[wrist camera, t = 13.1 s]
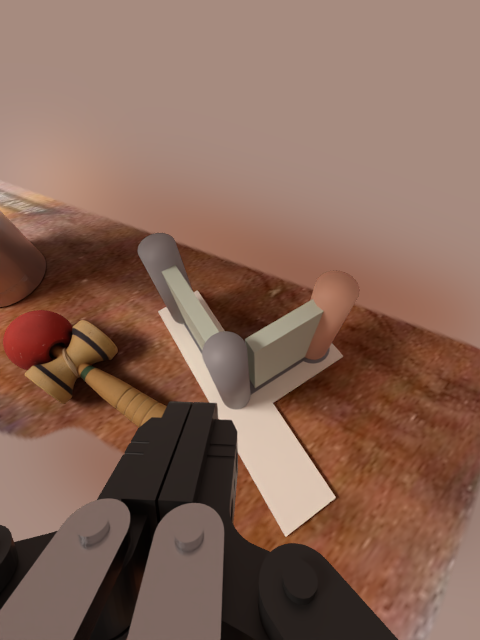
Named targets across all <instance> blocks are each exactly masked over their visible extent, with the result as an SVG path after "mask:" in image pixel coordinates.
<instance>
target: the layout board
mask: <svg viewBox="0 0 480 640" xmlns="http://www.w3.org/2000/svg"><path fill="white" fill-rule="evenodd" d="M193 293H194V294H195V296H196V297H197V299H198V300H199V302H200V303H201V305H202V306H203V308H204V309H205V311H206V312H207V314H208V315H209V317H210V318H211V320H212V322H213V323H214V325H215V326H216V328H217V329H218V331H219V332H223V331H224V329H223V328H222V326H221V325H220V323H219V322H218V320H217V319H216V317H215V316H214V314H213V313H212V311H211V310H210V308H209V307H208V305H207V304H206V302H205V301H204V299H203V298H202V296H201V295H200V293H199V292H198V290H197V291H195V292H193ZM158 312H159V314H160V316H161V317H162V319H163V321H164V323H165V325H166V326H167V328H168V330H169V332H170V333H171V335H172V337H173V339H174V340H175V342H176V344H177V346H178V348H179V349H180V351H181V353H182V355H183V356H184V358H185V360H186V362H187V363H188V365H189V367H190V369H191V370H192V372H193V374H194V376H195V378H196V379H197V381H198V383H199V385H200V386H201V388H202V390H203V392H204V393H205V395H206V397H207V399H208V401H209V402H210V403H217V406H218V418H219V419H220V420H232V421H233V423H234V425H235V428H236V430H237V448H238V454H239V455H240V457H241V459H242V461H243V462H244V464H245V466H246V468H247V469H248V471H249V473H250V475H251V476H252V478H253V480H254V482H255V484H256V485H257V487H258V489H259V491H260V492H261V494H262V496H263V498H264V499H265V501H266V503H267V505H268V507H269V508H270V510H271V512H272V514H273V515H274V517H275V519H276V521H277V522H278V524H279V526H280V528H281V529H282V531H283V533H284V535H285V537H286V536H288V535H289V534H290V533H291V532H293V531H294V530H295V529H296V528H298V527H299V526H300V525H302V524H303V523H304V522H305V521H307V520H308V519H309V518H311V517H312V516H313V515H314V514H316V513H317V512H318V511H320V510H321V509H322V508H323V507H325V506H326V505H327V504H329V503H330V502H331V501H332V500H334V499H335V498H336V497H335V495H334V494H333V492H332V491H331V489H330V488H329V486H328V485H327V483H326V482H325V480H324V479H323V477H322V476H321V474H320V473H319V471H318V470H317V468H316V467H315V465H314V464H313V462H312V461H311V459H310V458H309V456H308V455H307V453H306V452H305V450H304V449H303V447H302V446H301V444H300V443H299V441H298V440H297V438H296V437H295V435H294V434H293V432H292V431H291V429H290V428H289V426H288V425H287V423H286V422H285V420H284V419H283V417H282V416H281V414H280V413H279V411H278V410H277V408H276V407H275V405H274V404H273V403H274V402H275V401H277V400H279V399H280V398H282V397H283V396H285V395H286V394H288V393H289V392H291V391H292V390H294V389H295V388H297V387H298V386H300V385H301V384H303V383H304V382H306V381H307V380H309V379H310V378H312V377H313V376H315V375H316V374H318V373H319V372H321V371H322V370H324V369H325V368H327V367H328V366H330V365H331V364H333V363H335V362H336V361H338V360H339V359H341V358H342V357H343V355H342V354H341V353H340V352H339V350H338V349H337V348H336V347H335V346H334V345H333V343H331V345H330V347H329V349H328V351H327V352H326V354H325V355H324V356H323V357H322V358H320V359H316V360H311V359H308V358H305V357H304V358H302V359H301V360H299V361H297V362H296V363H294V364H293V365H291V366H289V367H288V368H286V369H285V370H283V371H282V372H280V373H278V374H277V375H275V376H274V377H272V378H270V379H269V380H267V381H266V382H264V383H263V384H261V385H259V386H258V387H256V388H255V387H254V386H253V384H252V382H251V381H250V392H251V396H250V400H249V402H248V404H247V405H246V406H245V407H243V408H241V409H230V408H228V407H227V406H226V405H225V404H224V403H223V401H222V399H221V397H220V394H219V392H218V390H217V388H216V386H215V384H214V382H213V380H212V378H211V375H210V373H209V371H208V369H207V367H206V365H205V363H204V360H203V357H202V349H201V348H200V346H199V344H198V343H197V341H196V339H195V338H194V336H193V334H192V333H191V331H190V329H189V328H188V326H187V324H179V323H177V322H176V321H174V319H173V318H172V316H171V314H170V312H169V310H168V308H167V307H165V308H163V309H161V310H160V311H158ZM249 380H250V379H249Z"/></svg>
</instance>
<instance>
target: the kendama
mask: <svg viewBox="0 0 480 640" xmlns="http://www.w3.org/2000/svg"><path fill="white" fill-rule="evenodd" d="M3 346H4V350H5V352H6V354H7V356H8V358H9V359H10V360H11V361H12V362H13V363H14V364H15V365H17V366H19V367H21V368H23V369H26V370H28V371H27V372H26V373H25V376H26V377H27V378H29V379H30V380H31V381H33V382H34V383H35V384H36V385H37V386H39V387H40V388H41V389H43V390H44V391H45V392H47V393H48V394H49V395H51V396H52V397H53V398H55V399H56V400H57V401H59V402H60V403H62V404H65V403H66V402H67V401H68V400H70V399H71V398H72V394H73V387H74V383H75V381H76V379H77V378H79V377H81V378H82V379H83V380H84V381H85V382H86V383H87V384H88V385H89V386H90V387H91V388H92V389H93V390H95V391H96V392H97V393H98V394H99V395H100V396H101V397H102V398H103V399H104V400H106V401H107V402H108V403H109V404H110V405H112V406H113V407H114V408H115V409H117V410H118V411H119V412H120V413H122V414H123V415H125V417H127V418H128V419H129V420H130V421H132V422H133V423H134V424H135V425H136V426H138V427H140V426H142V425H143V424H144V423H145V422H146V421H148V420H149V419H150V418H151V417H160V418H161V417H162V415H163V413H164V411H165V409H166V407H167V406H165V405H163V404H161V403H158V401H156V400H154V399H153V398H150V397H149V396H147V395H146V394H144V393H142V392H140V391H139V390H137V389H135V388H133V387H132V386H130V385H129V384H127V383H125V382H124V381H122V380H120V379H118V378H116V377H114V376H112V375H110V374H108V373H106V372H104V371H102V370H100V369H98V368H96V367H93V366H91V365H92V364H94V363H96V362H99V361H105V360H111V359H112V358H113V357H114V356H115V355H116V353H117V352H118V349H117V347H116V345H115V344H114V343H113V342H112V340H111V339H110V338H109V337H108V336H107V335H106V334H104V333H103V332H102V331H101V330H100V329H98V328H97V327H96V326H94V325H93V324H91V323H90V322H88V321H85V320H81V321H79V322H78V323H77V324H76V325H74V326H73V327H72V325H71V324H70V322H69V321H68V320H67V319H65V318H64V317H63V316H61V315H59V314H57V313H54V312H51V311H45V310H37V311H31V312H28V313H25V314H23V315H21V316H19V317H17V318H16V319H15V320H13V321H12V322H11V324H10V325H9V326H8V327H7V329H6V331H5V334H4V339H3Z"/></svg>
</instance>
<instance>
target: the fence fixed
mask: <svg viewBox="0 0 480 640" xmlns="http://www.w3.org/2000/svg"><path fill="white" fill-rule="evenodd" d="M138 255H139V257H140V259H141V260H142V262H143V264H144V266H145V268H146V270H147V271H148V273H149V275H150V277H151V279H152V281H153V283H154V284H155V286H156V288H157V290H158V292H159V294H160V296H161V297H162V299H163V301H164V303H165V305H166V307H167V308H168V310H169V312H170V314H171V316H172V318H173V319H174V321H176V322H177V323H179V324H187V326H188V328H189V329H190V331H191V333H192V334H193V336H194V338H195V339H196V341H197V343H198V344H199V346H200V348H201V349H202V357H203V360H204V363H205V365H206V367H207V369H208V371H209V373H210V375H211V378H212V380H213V382H214V384H215V386H216V388H217V390H218V392H219V394H220V397H221V399H222V401H223V403H224V404H225V405H226V406H227V407H228V408H230V409H241V408H243V407H245V406H246V405H247V404H248V402H249V400H250V396H251V392H250V380H249V367H248V355H247V347H246V344H245V342H244V340H243V339H242V338H241V337H240V336H239V335H237V334H235V333H233V332H228V331H223V332H219V331H218V329H217V328H216V326H215V325H214V323H213V322H212V320H211V318H210V317H209V315H208V314H207V312H206V311H205V309H204V308H203V306H202V305H201V303H200V302H199V300H198V299H197V297H196V296H195V294H194V293H193V290H192V288H191V285H190V282H189V279H188V276H187V273H186V271H185V268H184V265H183V262H182V259H181V256H180V253H179V251H178V248H177V245H176V242H175V240H174V238H173V237H172V236H170V235H168V234H165V233H155V234H151V235H149V236H147V237H146V238H144V239H143V240H142V241H141V242H140V244H139V246H138Z"/></svg>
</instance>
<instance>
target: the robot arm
mask: <svg viewBox="0 0 480 640" xmlns="http://www.w3.org/2000/svg"><path fill="white" fill-rule="evenodd" d="M45 270H46V261H45V258H44V256H43V255H42V254H41V252H40V251H39V250H38V249H37V248H36V247H35V246H34V245H33V244H32V243H31V242H30V241H29V240H28V239H27V238H26V237H25V236H24V235H23V234H22V233H21V232H20V231H19V230H18V229H17V228H16V227H15V226H14V224H13V223H12V222H11V221H10V220H9V219H8V218H7V217H6V216H5V215H4V214H3V213H2V212H1V211H0V307H4V306H8V305H11V304H13V303H16V302H18V301H20V300H21V299H23V298H25V297H26V296H27V295H29V294H30V293H31V292H32V291H33V290H34V289H35V288H36V287H37V286H38V285H39V283H40V282H41V281H42V278H43V276H44V274H45ZM237 473H238V448H237V430H236V428H235V425H234V423H233V421H232V420H220V419H218V406H217V403H204V402H194V403H193V402H169V403H168V405H167V407H166V409H165V411H164V413H163V415H162V417H161V418H160V417H151V418H150V419H149V420H148V421H146V422H145V423H144V424H143V425H142V426H140V427H139V428H138V430H137V432H136V433H135V435H134V437H133V439H132V440H131V443H130V444H129V445H128V447H127V449H126V451H125V454H124V455H123V456H122V458H121V459H120V461H119V463H118V464H117V466H116V468H115V470H114V471H113V473H112V475H111V477H110V478H109V480H108V482H107V483H106V485H105V487H104V489H103V490H102V493H101V494H100V495H99V497H98V499H97V500H96V501H93V502H90V503H88V504H86V505H84V506H83V507H81V508H79V509H78V510H76V511H75V512H74V513H73V514H72V515H70V517H69V518H68V519H67V520H66V521H65V522H64V523H63V525H62V526H61V527H60V529H59V530H58V531H55V532H52V533H49V534H45V535H41V536H37V537H33V538H29V539H25V540H21V541H17V542H14V541H13V538H12V535H11V532H10V531H9V529H7V528H6V527H5V526H2V525H0V640H398V639H397V638H396V637H395V636H394V634H393V633H392V632H391V631H390V630H389V629H388V628H387V627H386V626H385V624H384V623H383V622H382V621H381V620H380V619H379V618H378V617H377V616H376V614H375V613H374V612H373V611H372V610H371V609H370V608H369V607H368V606H367V604H366V603H365V602H364V601H363V600H362V599H361V598H360V597H359V595H358V594H357V593H356V592H355V591H354V590H353V589H352V588H351V587H350V585H349V584H348V583H347V582H346V581H345V580H344V579H343V578H342V577H341V575H340V574H339V573H338V572H337V571H336V570H335V569H334V568H333V567H332V565H331V564H330V563H329V562H328V561H327V560H326V559H325V558H324V557H323V556H322V555H321V554H320V553H318V552H317V551H315V550H314V549H312V548H310V547H308V546H305V545H302V544H296V543H290V544H284V545H281V546H279V547H277V548H275V549H274V550H272V551H271V552H269V551H267V550H265V549H262V548H260V547H258V546H256V545H254V544H252V543H250V542H248V541H247V540H245V539H244V538H243V537H242V536H241V535H240V534H239V533H238V532H237V530H236V529H235V527H234V525H233V520H234V508H235V497H236V485H237Z"/></svg>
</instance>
